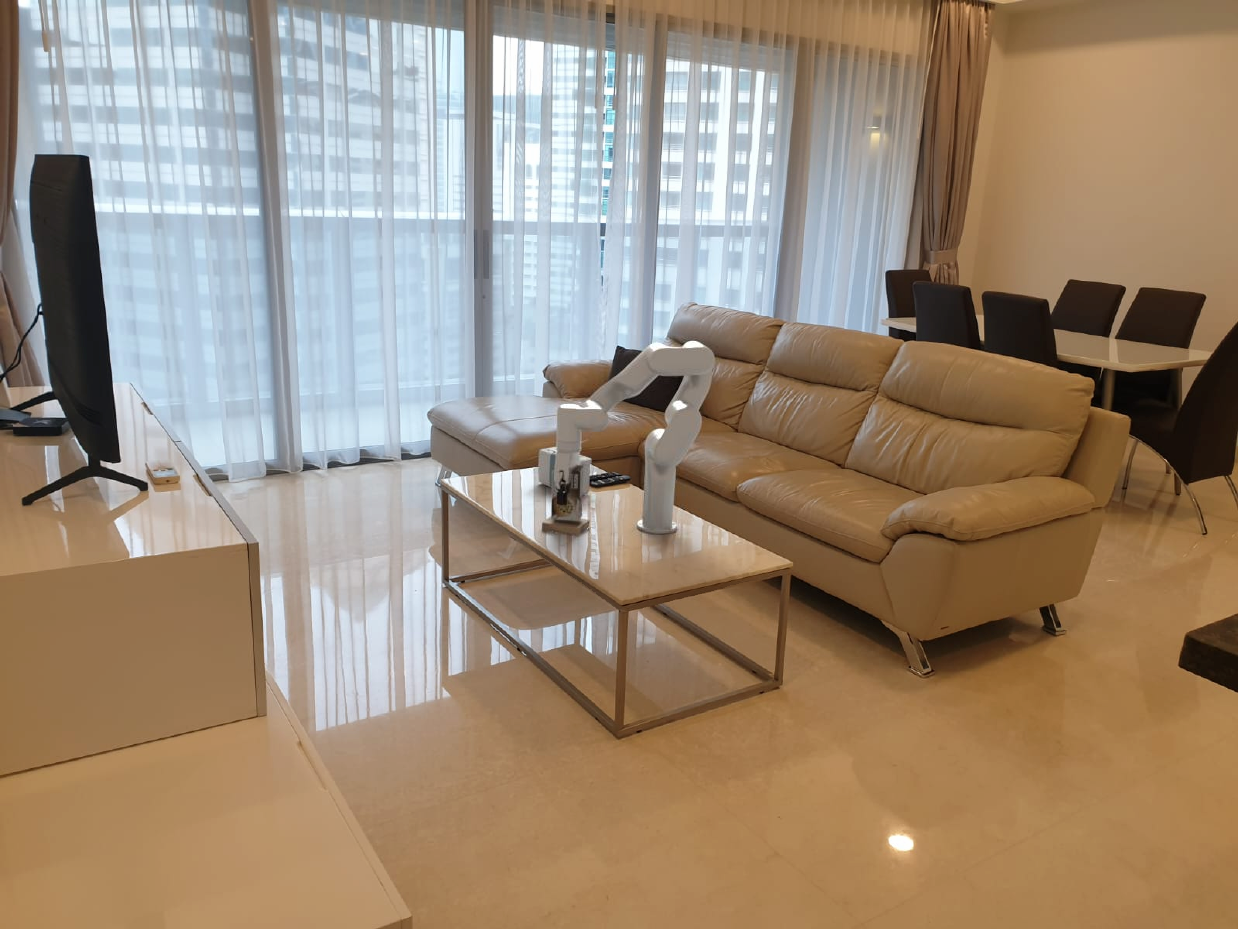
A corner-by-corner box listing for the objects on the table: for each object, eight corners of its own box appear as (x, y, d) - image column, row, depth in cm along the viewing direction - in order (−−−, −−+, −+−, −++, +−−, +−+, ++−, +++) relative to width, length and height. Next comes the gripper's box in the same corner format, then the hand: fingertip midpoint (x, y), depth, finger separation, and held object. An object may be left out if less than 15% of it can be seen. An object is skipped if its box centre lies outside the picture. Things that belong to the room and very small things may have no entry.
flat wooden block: (554, 521, 286) (554, 514, 285) (589, 527, 282) (589, 520, 282) (541, 530, 278) (542, 522, 277) (577, 536, 274) (578, 528, 273)
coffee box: (582, 515, 282) (584, 465, 277) (579, 521, 276) (581, 470, 271) (553, 512, 283) (555, 463, 278) (550, 519, 276) (551, 468, 272)
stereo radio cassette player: (536, 484, 324) (538, 430, 319) (554, 480, 330) (556, 427, 324) (573, 499, 310) (576, 442, 304) (592, 495, 315) (594, 439, 310)
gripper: (568, 437, 282) (567, 491, 287) (545, 450, 266) (544, 507, 271) (591, 440, 280) (589, 495, 284) (568, 453, 264) (567, 510, 269)
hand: (567, 500), depth 278 cm, fingers closed on coffee box, 7 cm apart
